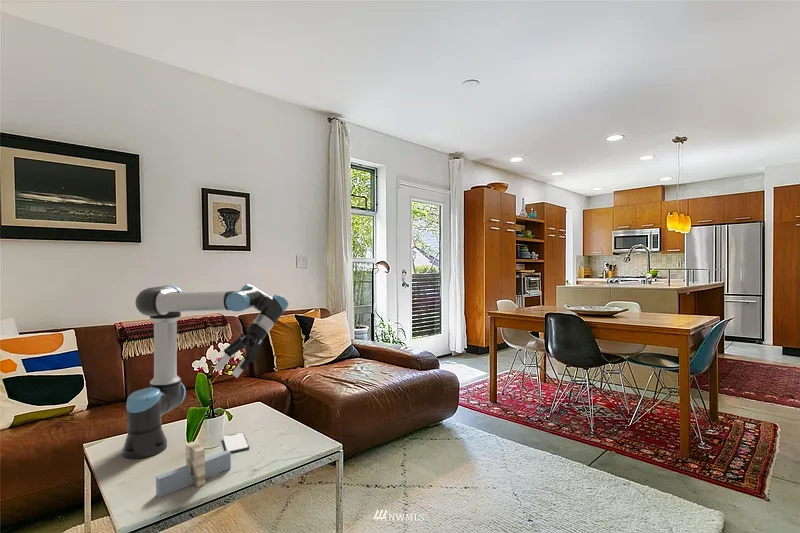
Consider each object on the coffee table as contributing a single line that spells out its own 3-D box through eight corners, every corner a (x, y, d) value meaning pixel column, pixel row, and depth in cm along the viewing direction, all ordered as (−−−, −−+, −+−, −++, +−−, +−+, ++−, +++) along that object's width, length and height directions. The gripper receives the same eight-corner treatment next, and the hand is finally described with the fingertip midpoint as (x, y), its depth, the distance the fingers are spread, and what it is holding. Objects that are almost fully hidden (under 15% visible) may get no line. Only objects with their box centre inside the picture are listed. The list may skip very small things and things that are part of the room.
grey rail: (156, 494, 138) (155, 476, 138) (227, 466, 156) (227, 450, 156) (159, 497, 136) (158, 479, 136) (230, 468, 154) (230, 452, 154)
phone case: (250, 451, 169) (243, 435, 183) (249, 447, 169) (243, 431, 183) (226, 456, 165) (221, 440, 179) (226, 452, 165) (221, 436, 179)
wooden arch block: (186, 477, 148) (185, 444, 148) (193, 475, 150) (192, 441, 150) (197, 487, 142) (196, 451, 142) (205, 483, 144) (204, 449, 144)
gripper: (283, 337, 167) (249, 383, 156) (250, 330, 184) (217, 372, 173) (271, 325, 163) (235, 372, 152) (238, 319, 179) (203, 361, 168)
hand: (225, 372), depth 162 cm, fingers open, 13 cm apart
